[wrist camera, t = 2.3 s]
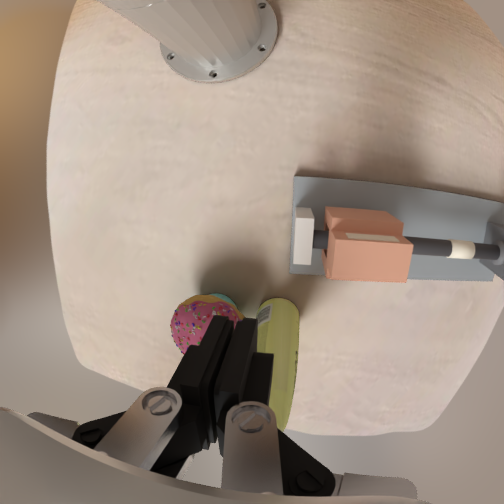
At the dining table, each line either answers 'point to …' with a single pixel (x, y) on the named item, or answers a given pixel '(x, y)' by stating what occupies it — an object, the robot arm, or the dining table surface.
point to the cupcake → (200, 317)
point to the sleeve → (365, 246)
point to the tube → (280, 352)
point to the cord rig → (405, 227)
